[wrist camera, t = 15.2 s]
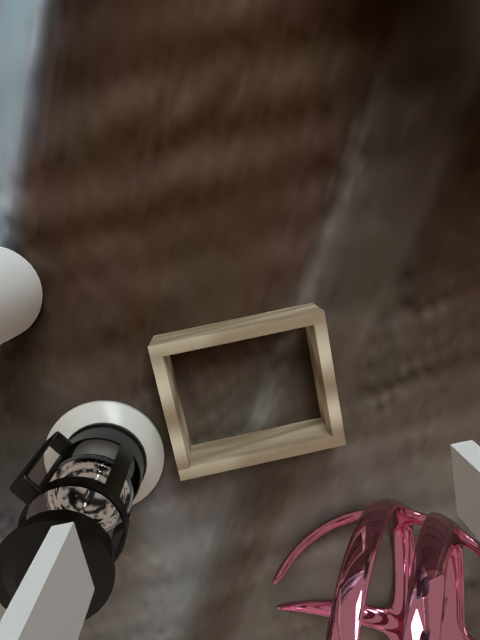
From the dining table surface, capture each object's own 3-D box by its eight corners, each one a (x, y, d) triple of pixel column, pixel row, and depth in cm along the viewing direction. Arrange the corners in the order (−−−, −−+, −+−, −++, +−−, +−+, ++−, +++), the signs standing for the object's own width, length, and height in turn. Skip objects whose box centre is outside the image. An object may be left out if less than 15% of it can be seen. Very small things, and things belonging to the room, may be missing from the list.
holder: (153, 335, 48) (147, 347, 43) (312, 302, 49) (324, 310, 44) (183, 457, 51) (180, 481, 46) (332, 424, 52) (346, 444, 47)
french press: (169, 466, 50) (138, 654, 28) (109, 519, 51) (32, 746, 29) (91, 394, 48) (-11, 536, 26) (30, 451, 49) (-122, 638, 26)
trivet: (31, 414, 49) (29, 416, 48) (149, 389, 49) (148, 390, 49) (63, 519, 51) (62, 522, 51) (176, 494, 52) (175, 497, 51)
